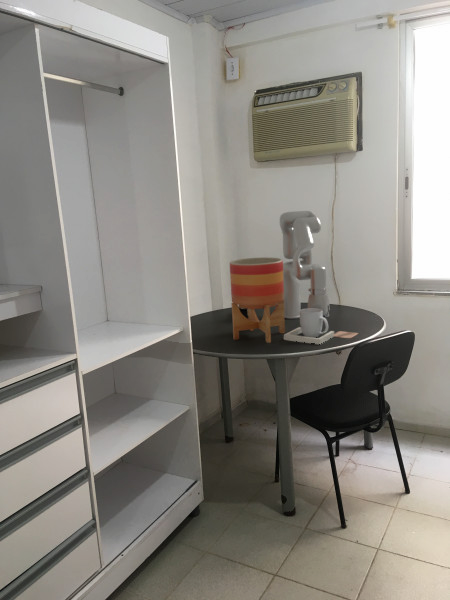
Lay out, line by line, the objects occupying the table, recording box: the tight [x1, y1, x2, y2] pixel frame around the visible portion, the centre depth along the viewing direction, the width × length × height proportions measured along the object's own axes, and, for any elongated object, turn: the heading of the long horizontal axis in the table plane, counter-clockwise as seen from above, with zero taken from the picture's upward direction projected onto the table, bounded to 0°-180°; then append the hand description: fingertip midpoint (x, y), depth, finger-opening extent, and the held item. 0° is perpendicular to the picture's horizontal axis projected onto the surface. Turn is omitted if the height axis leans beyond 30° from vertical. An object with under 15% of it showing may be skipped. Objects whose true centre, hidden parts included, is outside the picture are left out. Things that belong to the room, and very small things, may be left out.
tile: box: [333, 330, 360, 339], centre depth 240 cm, size 10×10×1 cm
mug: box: [299, 307, 329, 338], centre depth 238 cm, size 15×11×13 cm
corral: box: [283, 326, 335, 345], centre depth 237 cm, size 19×16×2 cm
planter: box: [229, 256, 286, 344], centre depth 243 cm, size 27×27×38 cm
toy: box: [238, 306, 249, 319], centre depth 293 cm, size 12×7×30 cm
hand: (319, 327), depth 246 cm, fingers closed
